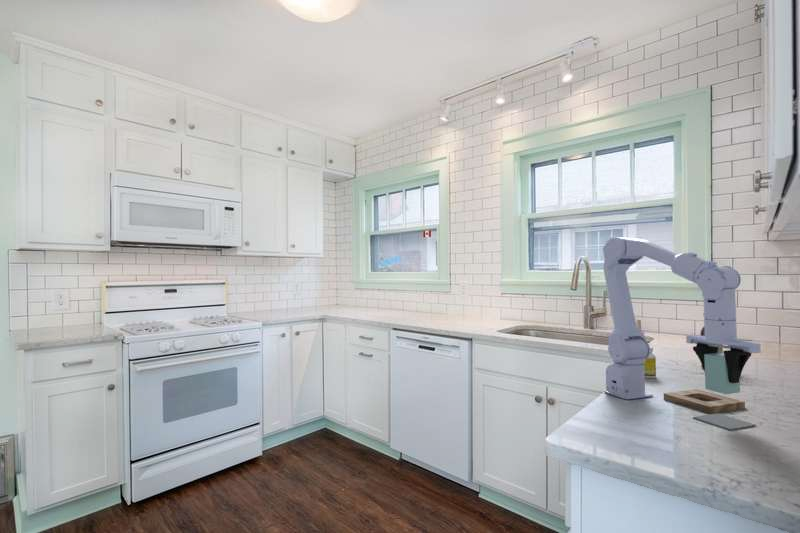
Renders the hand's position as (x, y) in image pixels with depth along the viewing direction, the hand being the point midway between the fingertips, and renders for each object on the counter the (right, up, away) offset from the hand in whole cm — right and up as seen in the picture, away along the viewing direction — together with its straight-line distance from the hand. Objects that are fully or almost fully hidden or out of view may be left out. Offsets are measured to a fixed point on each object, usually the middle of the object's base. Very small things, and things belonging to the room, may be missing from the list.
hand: (722, 379), depth 91 cm
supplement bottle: (+8, -11, +42) cm, 44 cm away
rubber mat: (0, -9, 0) cm, 9 cm away
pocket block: (+5, -10, +13) cm, 17 cm away
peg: (0, -2, 0) cm, 2 cm away
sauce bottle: (+37, -11, +51) cm, 64 cm away
